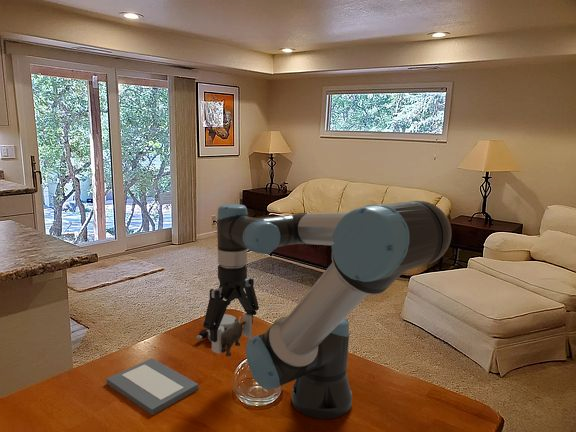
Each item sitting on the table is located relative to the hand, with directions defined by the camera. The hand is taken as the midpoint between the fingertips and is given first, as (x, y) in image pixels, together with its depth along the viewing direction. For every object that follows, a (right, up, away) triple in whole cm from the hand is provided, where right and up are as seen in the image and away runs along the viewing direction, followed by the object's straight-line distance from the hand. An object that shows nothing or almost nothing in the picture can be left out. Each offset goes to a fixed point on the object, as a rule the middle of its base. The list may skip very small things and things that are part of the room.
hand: (232, 344), depth 116 cm
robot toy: (-8, -5, +28) cm, 30 cm away
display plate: (-21, -10, -2) cm, 23 cm away
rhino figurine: (0, 0, 0) cm, 1 cm away
